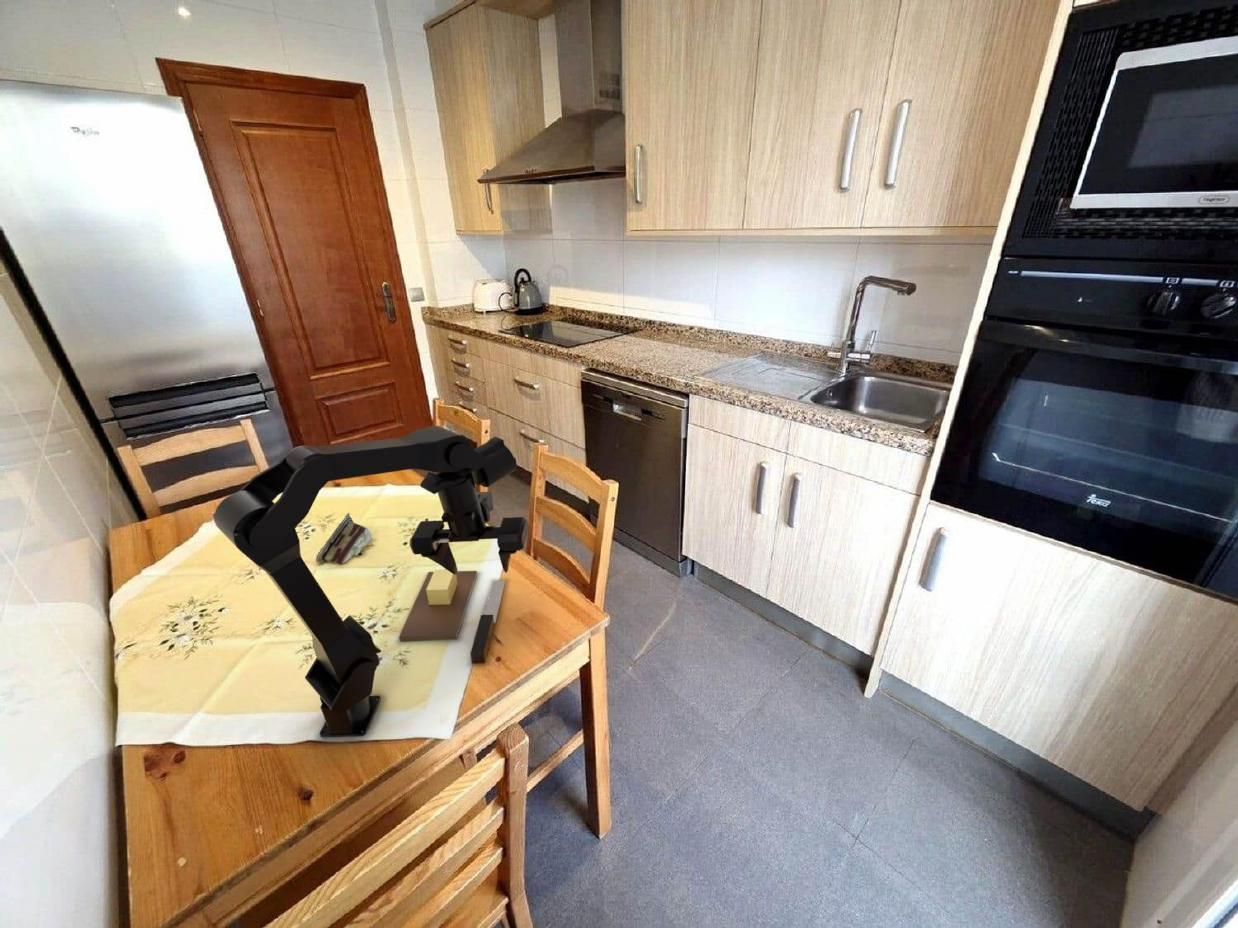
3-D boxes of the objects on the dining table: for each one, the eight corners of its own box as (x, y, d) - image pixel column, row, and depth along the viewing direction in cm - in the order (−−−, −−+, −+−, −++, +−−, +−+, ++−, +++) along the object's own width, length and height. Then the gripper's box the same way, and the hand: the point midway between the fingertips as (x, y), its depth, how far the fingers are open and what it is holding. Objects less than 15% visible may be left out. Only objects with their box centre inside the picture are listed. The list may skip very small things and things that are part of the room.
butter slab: (448, 594, 95) (447, 589, 94) (426, 594, 95) (425, 589, 94) (456, 573, 100) (455, 568, 100) (435, 574, 100) (434, 569, 100)
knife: (486, 663, 85) (484, 652, 84) (471, 663, 85) (469, 653, 84) (505, 581, 104) (504, 572, 103) (493, 581, 104) (492, 572, 102)
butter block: (450, 604, 96) (448, 594, 95) (429, 604, 96) (426, 594, 95) (457, 583, 101) (456, 573, 100) (437, 584, 101) (435, 574, 100)
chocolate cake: (342, 573, 106) (369, 520, 109) (312, 561, 106) (340, 509, 109) (362, 575, 115) (387, 526, 118) (334, 564, 116) (359, 516, 119)
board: (456, 639, 90) (455, 635, 89) (399, 641, 89) (398, 636, 89) (477, 574, 106) (476, 570, 105) (429, 575, 105) (428, 571, 105)
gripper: (526, 470, 86) (540, 539, 95) (421, 475, 87) (444, 543, 96) (513, 510, 77) (530, 582, 85) (395, 515, 78) (423, 586, 86)
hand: (481, 571), depth 88 cm, fingers open, 9 cm apart
